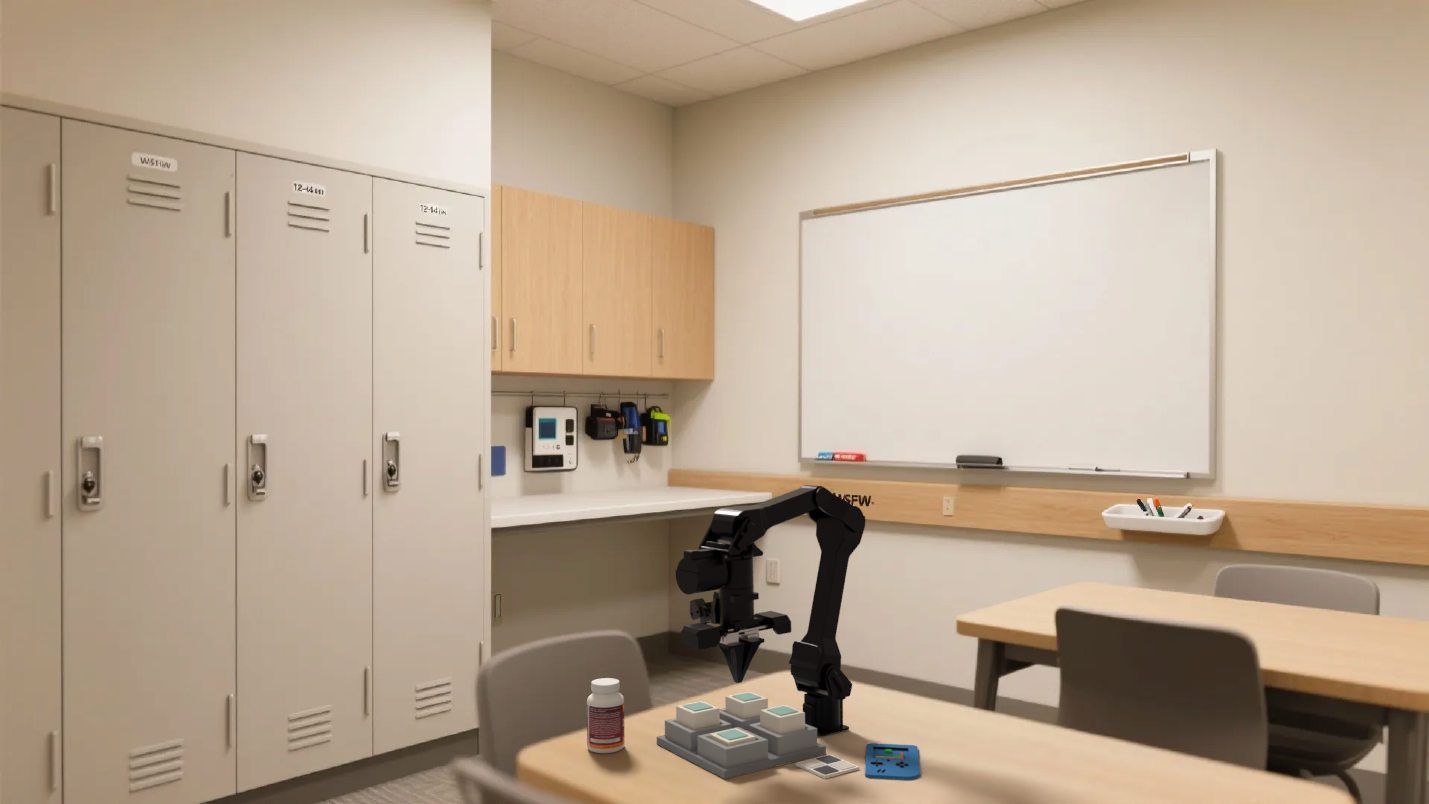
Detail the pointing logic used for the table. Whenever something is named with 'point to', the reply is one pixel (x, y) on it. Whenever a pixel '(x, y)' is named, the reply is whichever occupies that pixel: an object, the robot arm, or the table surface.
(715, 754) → the console
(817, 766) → the card
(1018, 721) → the table surface
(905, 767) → the handheld gaming device
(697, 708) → the button
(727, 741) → the button
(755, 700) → the button
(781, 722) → the button
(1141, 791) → the table surface
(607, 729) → the pill bottle
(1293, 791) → the table surface
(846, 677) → the robot arm
